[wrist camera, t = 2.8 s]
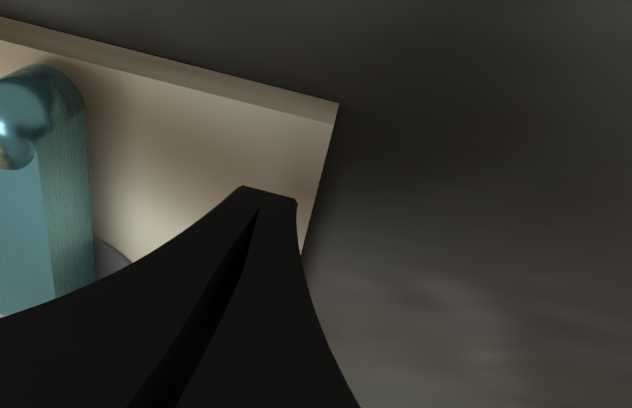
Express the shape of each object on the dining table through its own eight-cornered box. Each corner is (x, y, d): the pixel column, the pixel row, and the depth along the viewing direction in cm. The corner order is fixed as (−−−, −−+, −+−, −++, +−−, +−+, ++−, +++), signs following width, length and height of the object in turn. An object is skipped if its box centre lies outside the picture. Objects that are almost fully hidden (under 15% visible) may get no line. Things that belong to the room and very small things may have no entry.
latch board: (256, 425, 22) (247, 462, 21) (-129, 329, 22) (-165, 360, 20) (339, 103, 13) (333, 128, 12) (-308, -63, 13) (-392, -57, 12)
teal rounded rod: (106, 329, 16) (75, 378, 15) (39, 312, 16) (-1, 359, 15) (95, 77, 11) (44, 108, 10) (-4, 52, 11) (-71, 79, 10)
